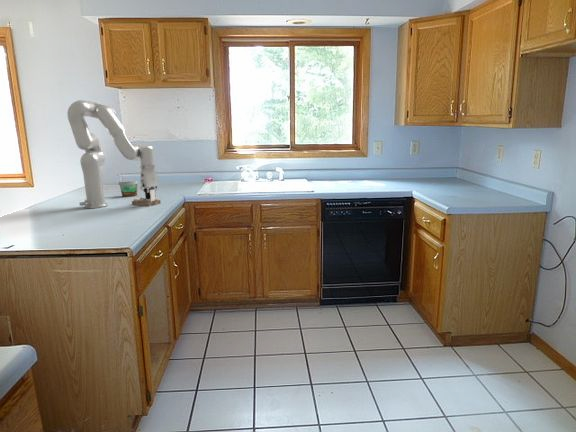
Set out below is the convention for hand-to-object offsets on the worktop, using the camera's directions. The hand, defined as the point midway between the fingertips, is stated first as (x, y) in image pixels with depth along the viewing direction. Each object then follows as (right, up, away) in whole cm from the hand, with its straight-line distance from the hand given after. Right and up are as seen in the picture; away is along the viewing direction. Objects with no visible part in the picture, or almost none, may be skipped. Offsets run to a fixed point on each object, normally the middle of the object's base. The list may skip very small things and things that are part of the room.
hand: (150, 198), depth 248 cm
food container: (-24, +2, +29) cm, 38 cm away
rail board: (-3, -3, +3) cm, 5 cm away
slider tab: (0, -1, 0) cm, 1 cm away
